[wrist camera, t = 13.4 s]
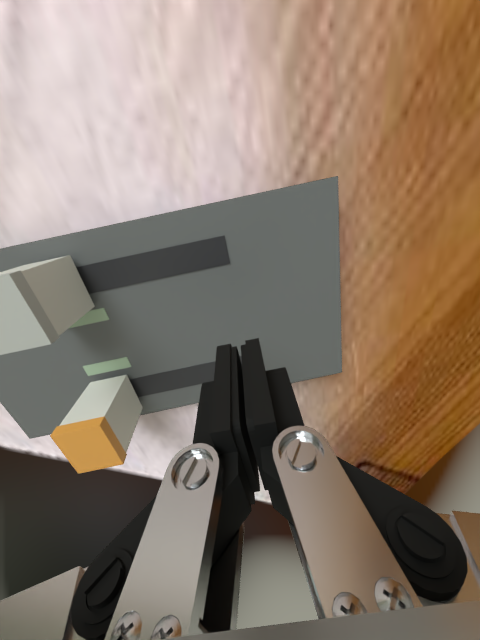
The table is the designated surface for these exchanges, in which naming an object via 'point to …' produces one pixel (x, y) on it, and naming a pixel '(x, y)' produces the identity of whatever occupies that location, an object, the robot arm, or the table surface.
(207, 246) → the grey slotted panel
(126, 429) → the block
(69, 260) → the breaker
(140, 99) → the table surface
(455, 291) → the table surface
